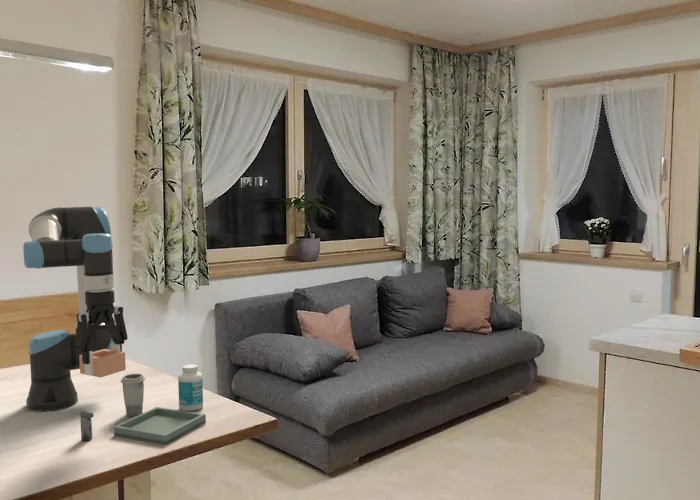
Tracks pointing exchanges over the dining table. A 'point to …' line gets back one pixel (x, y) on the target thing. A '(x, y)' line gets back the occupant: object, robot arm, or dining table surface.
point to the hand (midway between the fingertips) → (103, 370)
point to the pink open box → (106, 362)
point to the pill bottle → (190, 388)
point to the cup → (133, 393)
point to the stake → (86, 426)
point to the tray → (160, 425)
